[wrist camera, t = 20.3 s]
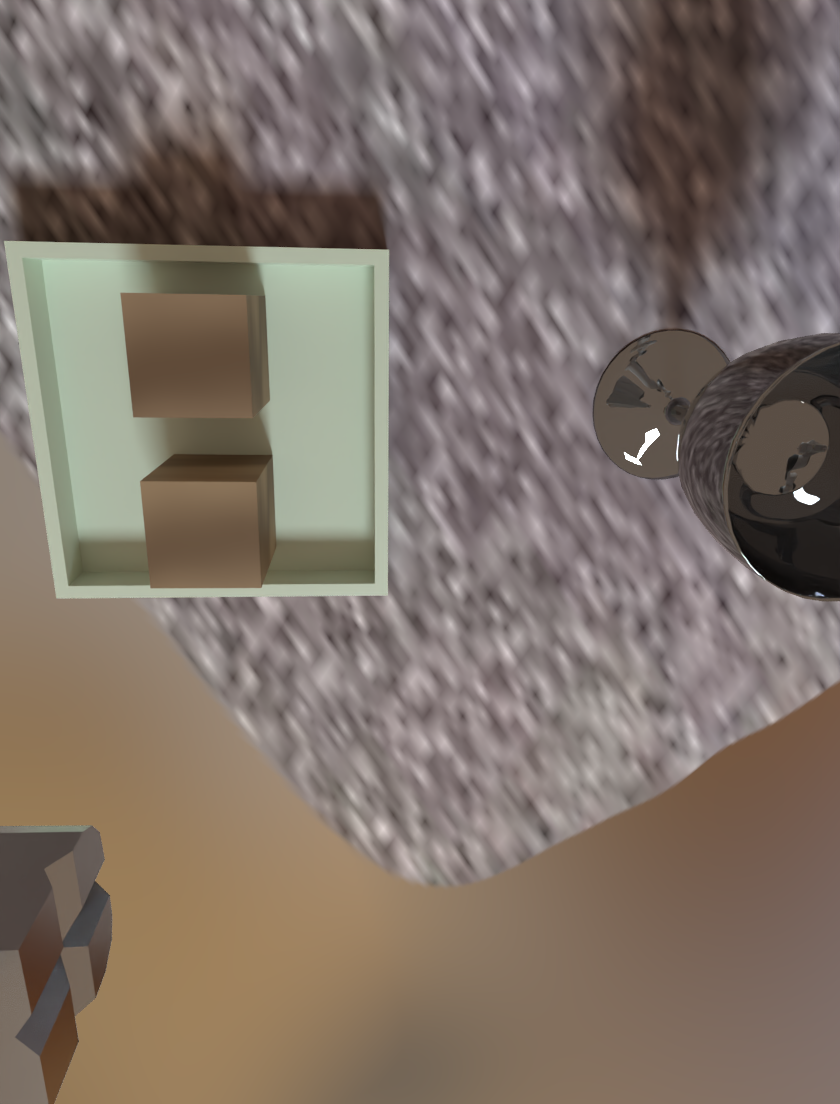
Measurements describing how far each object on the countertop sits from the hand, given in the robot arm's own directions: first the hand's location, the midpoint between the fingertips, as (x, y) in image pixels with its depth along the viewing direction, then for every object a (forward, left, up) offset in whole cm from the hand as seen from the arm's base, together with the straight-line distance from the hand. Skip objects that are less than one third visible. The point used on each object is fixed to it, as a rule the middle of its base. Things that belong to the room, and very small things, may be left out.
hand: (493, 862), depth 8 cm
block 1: (-4, -8, -28) cm, 30 cm away
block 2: (+3, -8, -28) cm, 30 cm away
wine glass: (-1, +13, -29) cm, 32 cm away
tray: (0, -8, -29) cm, 30 cm away
